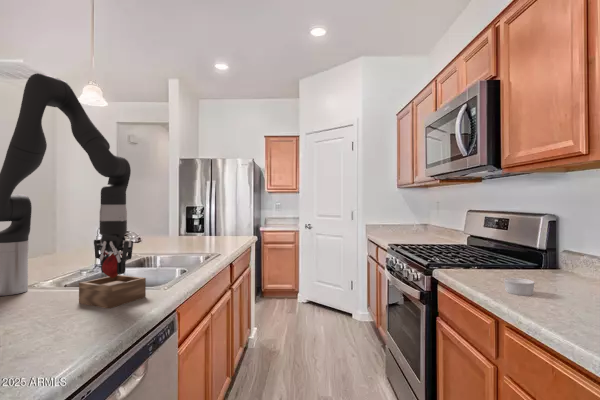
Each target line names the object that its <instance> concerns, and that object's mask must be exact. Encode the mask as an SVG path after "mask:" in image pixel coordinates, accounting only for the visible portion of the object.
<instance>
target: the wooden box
mask: <svg viewBox="0 0 600 400" xmlns="http://www.w3.org/2000/svg"><path fill="white" fill-rule="evenodd" d="M146 280H147V278H146V277H140V276H133V275H125V274H118V275H117V276H116V277H115V278H111V277H109V276H104V277H99V278H96V279H91V280H90V279H89V280H87V281H86V280H85V281H81V282H78V304H80V303H81V304H82V305H86V306H87V305H88V306H92V307H97V308H101V309H102V308H103V309H113V308H115V307H118V306H122V305H124V304H128V303H131V302H134V301H135V302H136V301H137V300H141V299H144V297H145V298H146V297H147V295H146V291H147V287H146V282H147V281H146Z"/></svg>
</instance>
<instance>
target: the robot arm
mask: <svg viewBox="0 0 600 400" xmlns="http://www.w3.org/2000/svg"><path fill="white" fill-rule="evenodd" d="M46 107H50V108H57V109H58V110H60V111H61V112H62V113H63V114H64V115H65V116H66V117H67V119H68V120H69V122H70V129H71V133H72V136H73V137H74V139H75V141H76V142H77V143H78V144H79V145H80V147H81V148H82V149H83V150H84V151H85V153H86V154H87V156H88V158H89V160H90V162H91V164H92V166H93V168H94V169H95V171H96V172H97V173H98V174H99V175H101V177H102V176H103V177H105V178H108V181H107V184H106V185H105V186H102V187H101V189H100V206H99V227H98V228H99V235H100V236H101V238H98V239H94V240H93V245H94V246H93V248H94V255H95V259H99V261H100V271H101V273H102V274H105V273H104V272H103V269H102V266H103V263H104V261H105V260H106V259H107V258H108V257H109V256H110V255H111V254H112V253H114V255H115V256H116V258H117V261H118V262H117V274H118V275H125V272H126V262H127V261H129V260H131V259H132V256H133V247H134V240H132V239H131V240H127V239H126V238H125V237H126V236H125V235H126V234H127V233H128V210H127V189H128V186H129V182H130V178H131V164H130V162H129V161H128V160H127V159H126V158H125V157H122V156H119V155H114V153H112V152H111V151H110V149H111V148H110V147H111V145H110V143H109V141H108V140H107V139H106V138H105V136H104V135H103V134H102V132H100V130H99V129H98V127H96V125H95V124H94V123H93V122H92V120H91V119H90V117H89V115H88V113H86V110H85V109H84V107H83V106H82V104H81V102H80V100H79V99H78V97H77V96H76V94H75V91H74V90H73V88H72V87H71V86H70V84H69V83H68V82H67V81H65V80H64V79H61V78H58V77H54V76H51V75H48V74H45V73H39V72H37V73H36V72H35V73H33V74H32V75H30V76H29V77H28V79H27V81H26V83H25V86H24V89H23V94H22V99H21V104H20V108H19V109H20V110H19V114H18V116H17V117H18V118H17V121H16V123H15V129H14V130H13V134H12V136H11V139H10V141H9V144H8V147H7V151H6V154H5V157H4V160H3V163H2V166H1V170H0V222H4V223H5V222H10V225H9V226H8V227H7V228H5V229H3V230H0V296H12V295H18V294H22V293H25V292H28V290H29V235H30V232H31V223H32V201H31V199H30V197H29V196H27V195H26V194H24V193H23V194H22V193H21V194H19V193H18V194H17V193H13V192H14V190H16V187H17V186H18V185H19V184H20V183H22V182H23V181H24V180H25V179H26V178H27V177H29V176H30V175H32V174H33V173H34V172H35V171H36V170H37V169H38V168H39V167H40V166H41V165H42V162H43V159H44V157H45V154H46V152H47V148H48V147H47V146H48V145H47V144H48V143H47V140H46V139H47V138H46V136H45V133H44V129H43V125H42V122H43V121H42V120H43V117H44V114H45V113H44V112H45V111H46Z"/></svg>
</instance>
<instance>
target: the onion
mask: <svg viewBox="0 0 600 400" xmlns="http://www.w3.org/2000/svg"><path fill="white" fill-rule="evenodd" d="M117 262H118V261H117V258H116V256H115V255H114V253H113V252H112V254H111V255H110V256H109V257H108V258H107V259H106V260H105V261H104V263H103V266H102V269H103V272H104V273H103V274H105V275H106V277H108V276H109V277H111V278H115V277H116V276H117V275H119V274H117Z"/></svg>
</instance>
